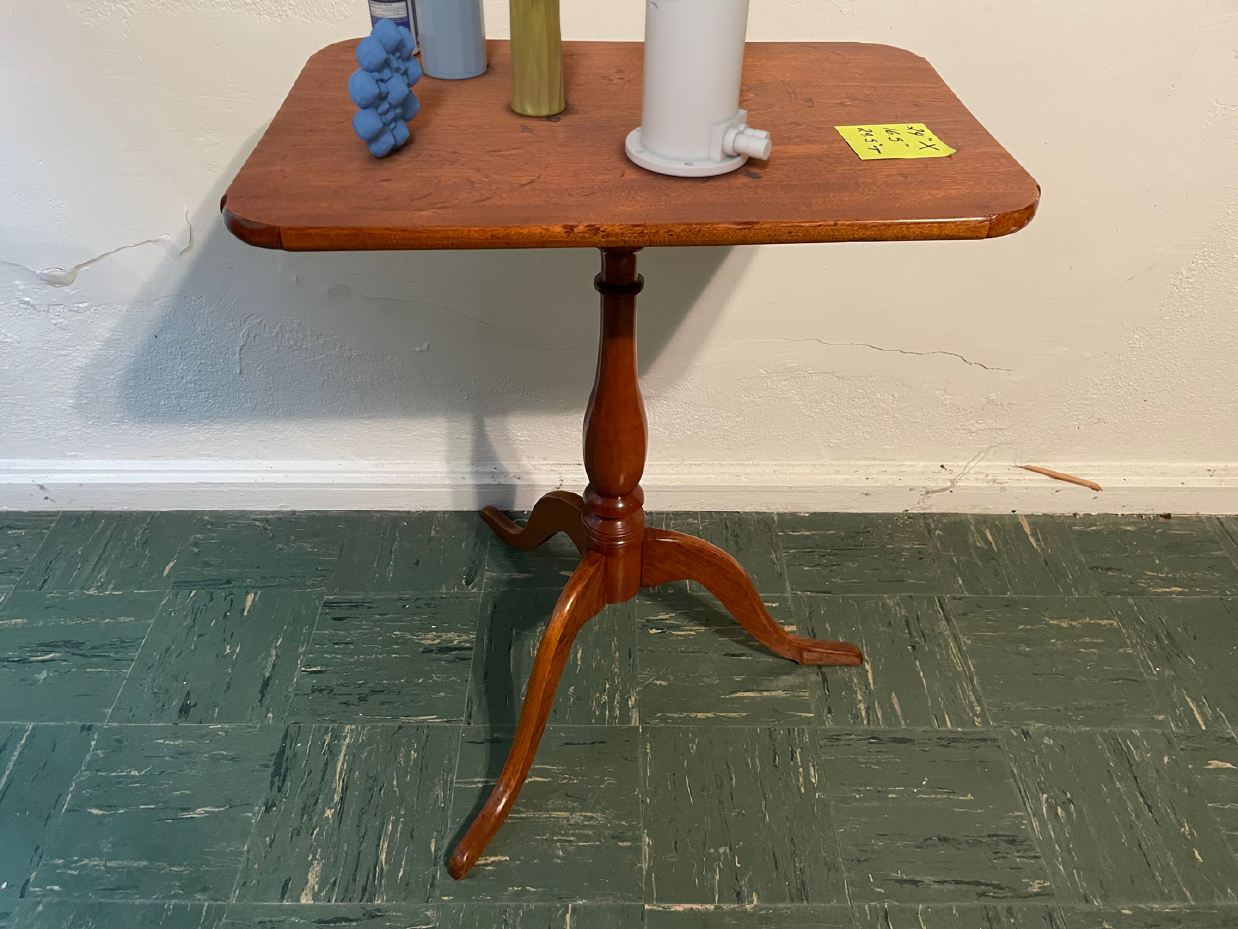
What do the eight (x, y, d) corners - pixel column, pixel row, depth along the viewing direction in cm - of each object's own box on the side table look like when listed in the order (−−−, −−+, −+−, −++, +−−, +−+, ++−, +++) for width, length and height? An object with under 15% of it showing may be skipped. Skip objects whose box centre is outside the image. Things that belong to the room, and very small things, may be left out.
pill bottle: (393, 42, 120) (382, -44, 114) (430, 49, 118) (421, -38, 112) (366, 54, 116) (353, -34, 110) (403, 61, 114) (392, -28, 108)
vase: (529, 121, 100) (523, -24, 91) (500, 104, 104) (492, -37, 95) (575, 110, 103) (575, -32, 94) (546, 94, 107) (542, -44, 97)
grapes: (386, 122, 99) (368, 1, 91) (443, 131, 97) (430, 8, 90) (326, 163, 90) (301, 33, 83) (388, 173, 89) (368, 42, 81)
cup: (499, 66, 114) (495, -14, 108) (459, 83, 109) (452, 0, 103) (450, 54, 117) (443, -24, 111) (409, 71, 112) (399, -11, 106)
